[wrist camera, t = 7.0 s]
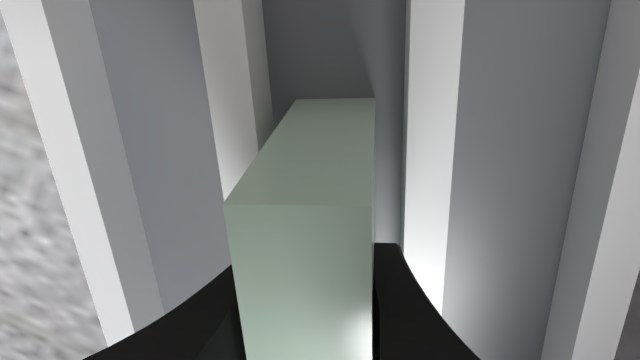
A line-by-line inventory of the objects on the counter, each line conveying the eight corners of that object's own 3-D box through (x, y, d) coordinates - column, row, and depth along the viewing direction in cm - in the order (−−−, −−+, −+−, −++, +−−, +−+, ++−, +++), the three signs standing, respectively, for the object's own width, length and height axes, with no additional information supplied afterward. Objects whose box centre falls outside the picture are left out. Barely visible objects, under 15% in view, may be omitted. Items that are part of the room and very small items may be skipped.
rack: (568, 396, 18) (601, 468, 16) (154, 369, 21) (120, 428, 18) (695, -129, 11) (799, -164, 8) (34, -76, 13) (-54, -90, 11)
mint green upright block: (375, 311, 16) (373, 519, 10) (311, 309, 17) (270, 508, 10) (375, 97, 13) (370, 205, 7) (296, 99, 14) (222, 204, 7)
